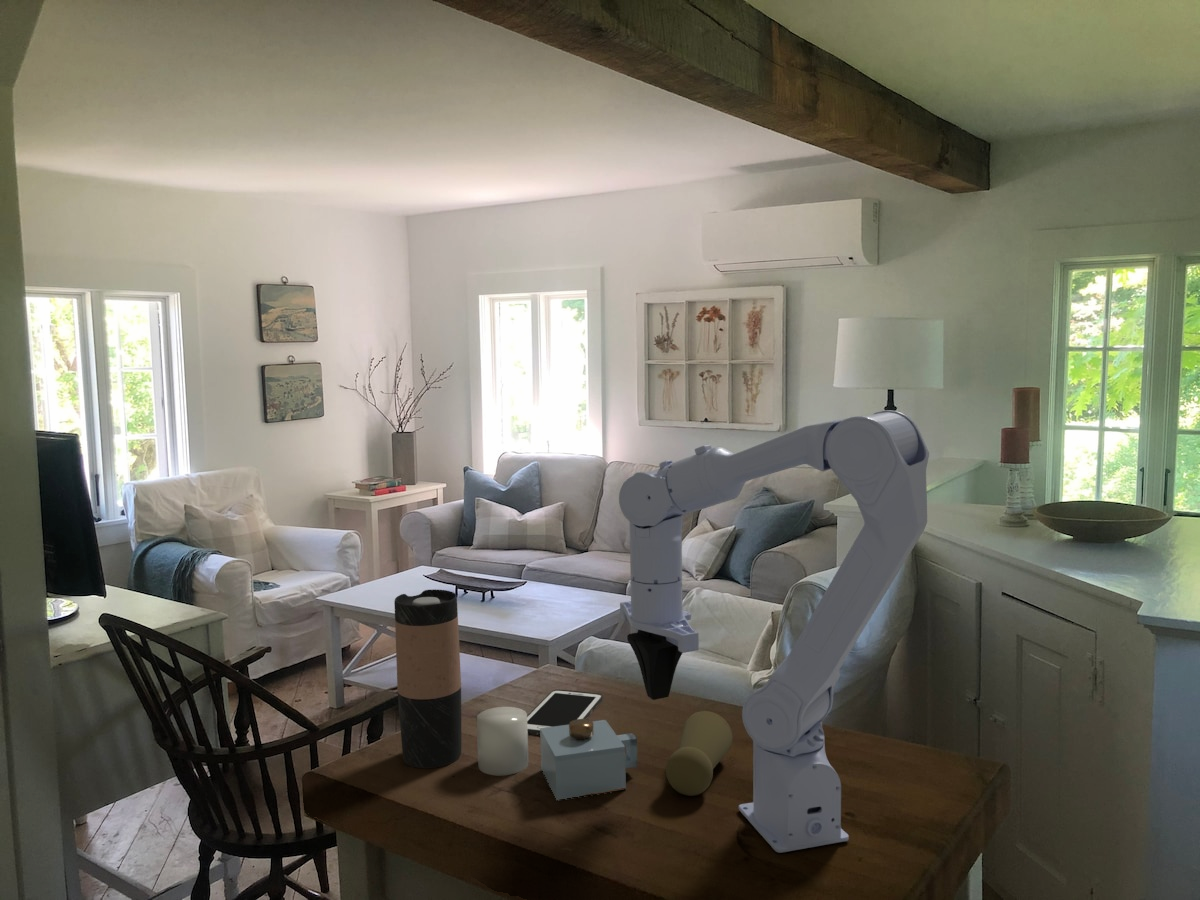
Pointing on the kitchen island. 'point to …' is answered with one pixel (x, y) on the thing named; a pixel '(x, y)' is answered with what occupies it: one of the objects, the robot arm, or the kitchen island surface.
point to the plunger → (581, 729)
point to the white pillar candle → (502, 740)
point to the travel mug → (428, 677)
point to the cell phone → (561, 709)
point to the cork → (698, 752)
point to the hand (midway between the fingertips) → (658, 696)
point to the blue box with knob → (586, 760)
